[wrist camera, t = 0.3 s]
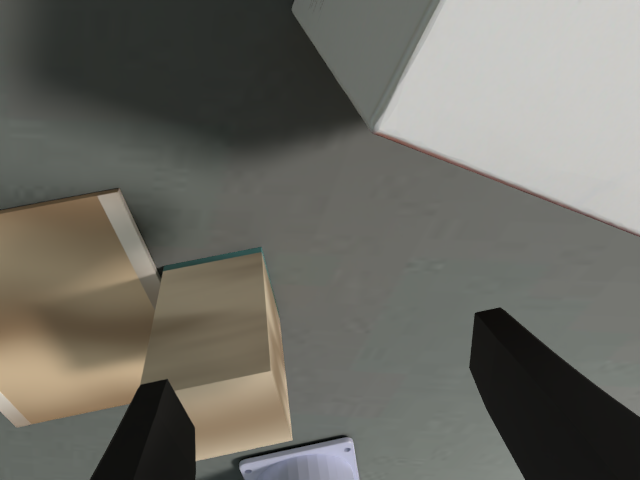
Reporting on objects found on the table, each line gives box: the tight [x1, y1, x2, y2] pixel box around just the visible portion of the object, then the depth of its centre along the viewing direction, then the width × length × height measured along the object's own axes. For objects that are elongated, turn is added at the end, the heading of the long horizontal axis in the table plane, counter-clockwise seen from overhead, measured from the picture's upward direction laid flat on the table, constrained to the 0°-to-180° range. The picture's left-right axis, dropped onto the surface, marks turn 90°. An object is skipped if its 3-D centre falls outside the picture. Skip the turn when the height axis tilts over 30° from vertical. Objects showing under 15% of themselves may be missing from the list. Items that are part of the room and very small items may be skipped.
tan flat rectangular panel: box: [0, 188, 161, 427], centre depth 21 cm, size 13×11×1 cm
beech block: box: [140, 247, 293, 461], centre depth 19 cm, size 4×4×7 cm
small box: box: [292, 0, 640, 237], centre depth 11 cm, size 8×6×10 cm
